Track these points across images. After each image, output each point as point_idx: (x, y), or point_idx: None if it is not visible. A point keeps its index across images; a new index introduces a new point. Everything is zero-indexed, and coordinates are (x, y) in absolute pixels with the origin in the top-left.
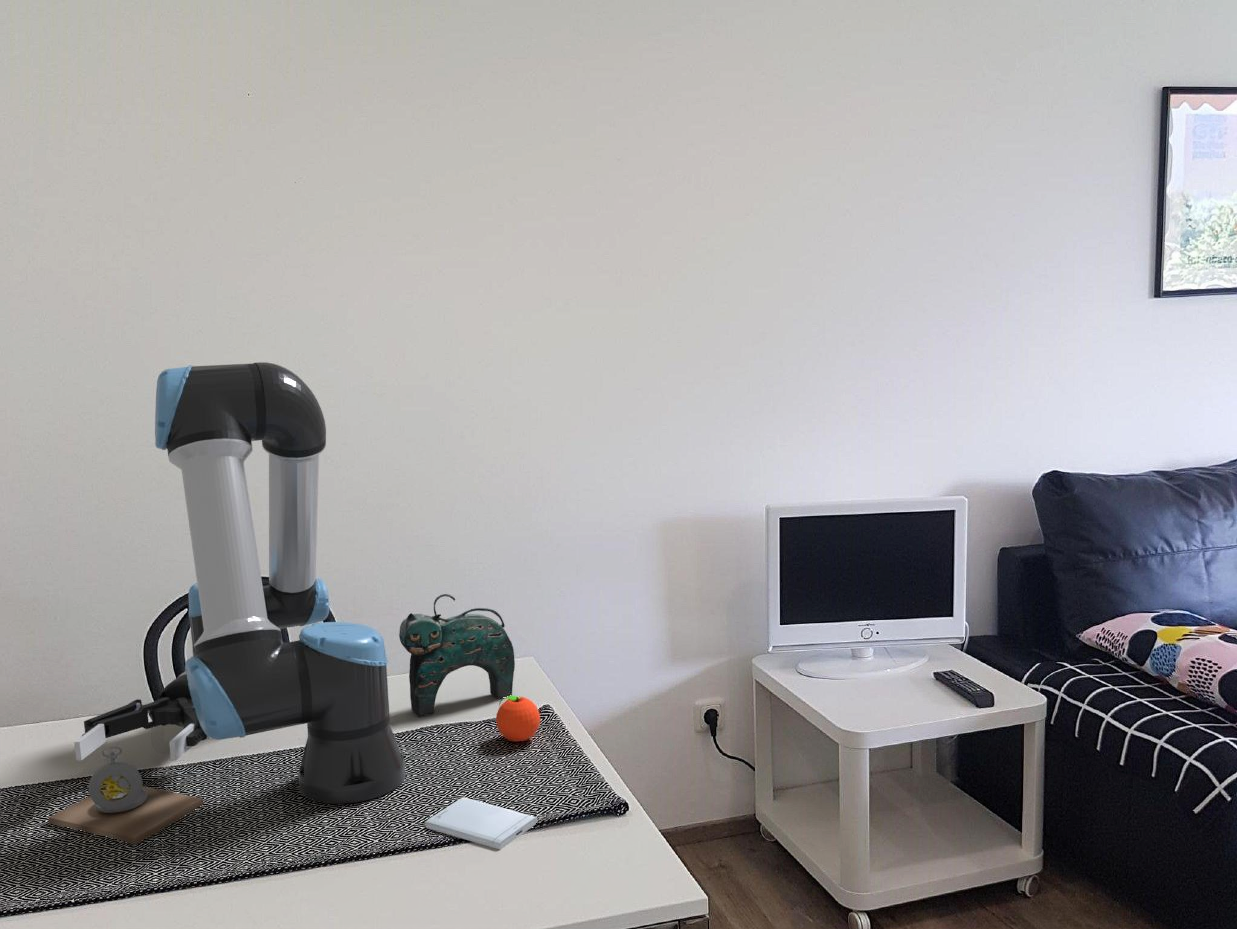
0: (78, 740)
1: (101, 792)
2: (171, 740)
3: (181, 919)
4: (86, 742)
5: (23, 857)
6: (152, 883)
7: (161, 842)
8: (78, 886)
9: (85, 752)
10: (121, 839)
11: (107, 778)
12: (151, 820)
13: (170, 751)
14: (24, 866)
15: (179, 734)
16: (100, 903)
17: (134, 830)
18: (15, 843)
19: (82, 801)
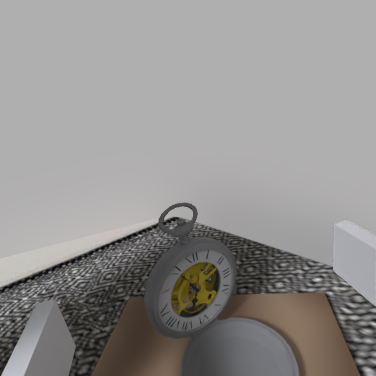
0: (350, 226)
1: (220, 284)
2: (49, 307)
3: (36, 249)
4: (361, 256)
5: (254, 249)
6: (76, 267)
7: (96, 323)
8: (148, 244)
9: (351, 273)
10: None
11: (202, 264)
12: (129, 343)
13: (64, 323)
14: (233, 243)
15: (24, 357)
16: (113, 240)
17: (141, 310)
18: (301, 260)
19: (345, 357)
